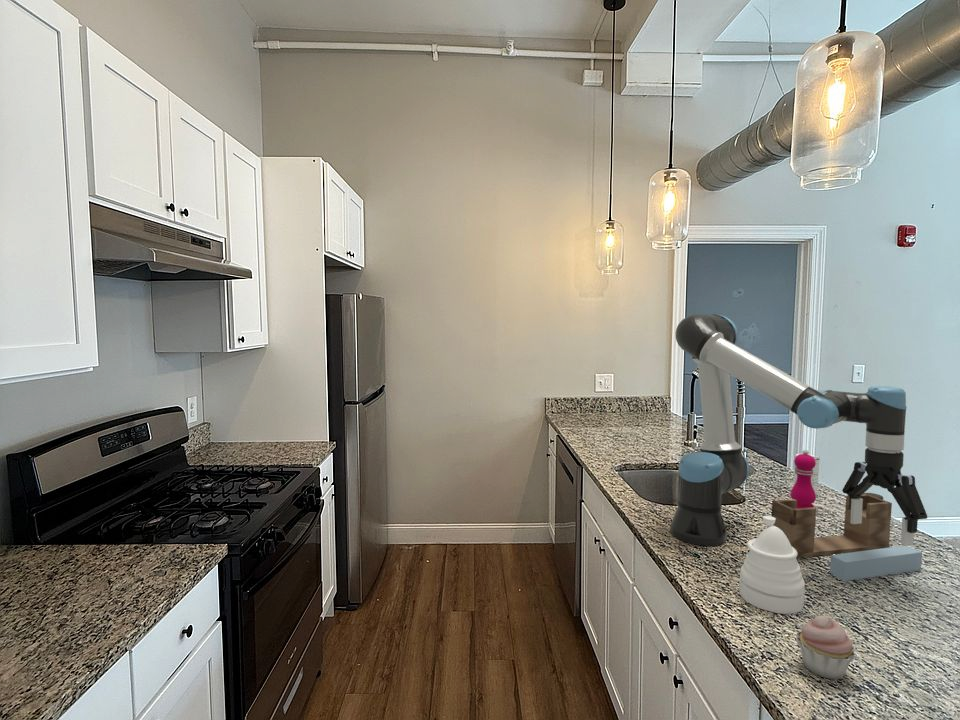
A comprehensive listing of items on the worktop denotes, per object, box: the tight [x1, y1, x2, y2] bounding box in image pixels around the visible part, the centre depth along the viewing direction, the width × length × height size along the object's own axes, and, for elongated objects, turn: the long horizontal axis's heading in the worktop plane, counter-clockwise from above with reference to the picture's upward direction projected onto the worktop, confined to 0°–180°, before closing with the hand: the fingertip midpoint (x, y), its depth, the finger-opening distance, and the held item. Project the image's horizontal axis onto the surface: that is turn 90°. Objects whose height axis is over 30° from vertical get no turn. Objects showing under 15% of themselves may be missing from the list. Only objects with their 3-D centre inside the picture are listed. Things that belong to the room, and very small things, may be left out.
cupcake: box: [795, 615, 857, 680], centre depth 95 cm, size 9×9×10 cm
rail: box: [829, 545, 923, 582], centre depth 132 cm, size 24×4×5 cm, turn 104°
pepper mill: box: [790, 449, 817, 509], centre depth 174 cm, size 7×7×20 cm
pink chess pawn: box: [792, 452, 820, 497], centre depth 188 cm, size 6×6×14 cm
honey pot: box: [738, 515, 806, 615], centre depth 119 cm, size 13×13×18 cm
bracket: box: [771, 494, 893, 559], centre depth 145 cm, size 31×8×13 cm, turn 101°
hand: (880, 533), depth 131 cm, fingers open, 13 cm apart
